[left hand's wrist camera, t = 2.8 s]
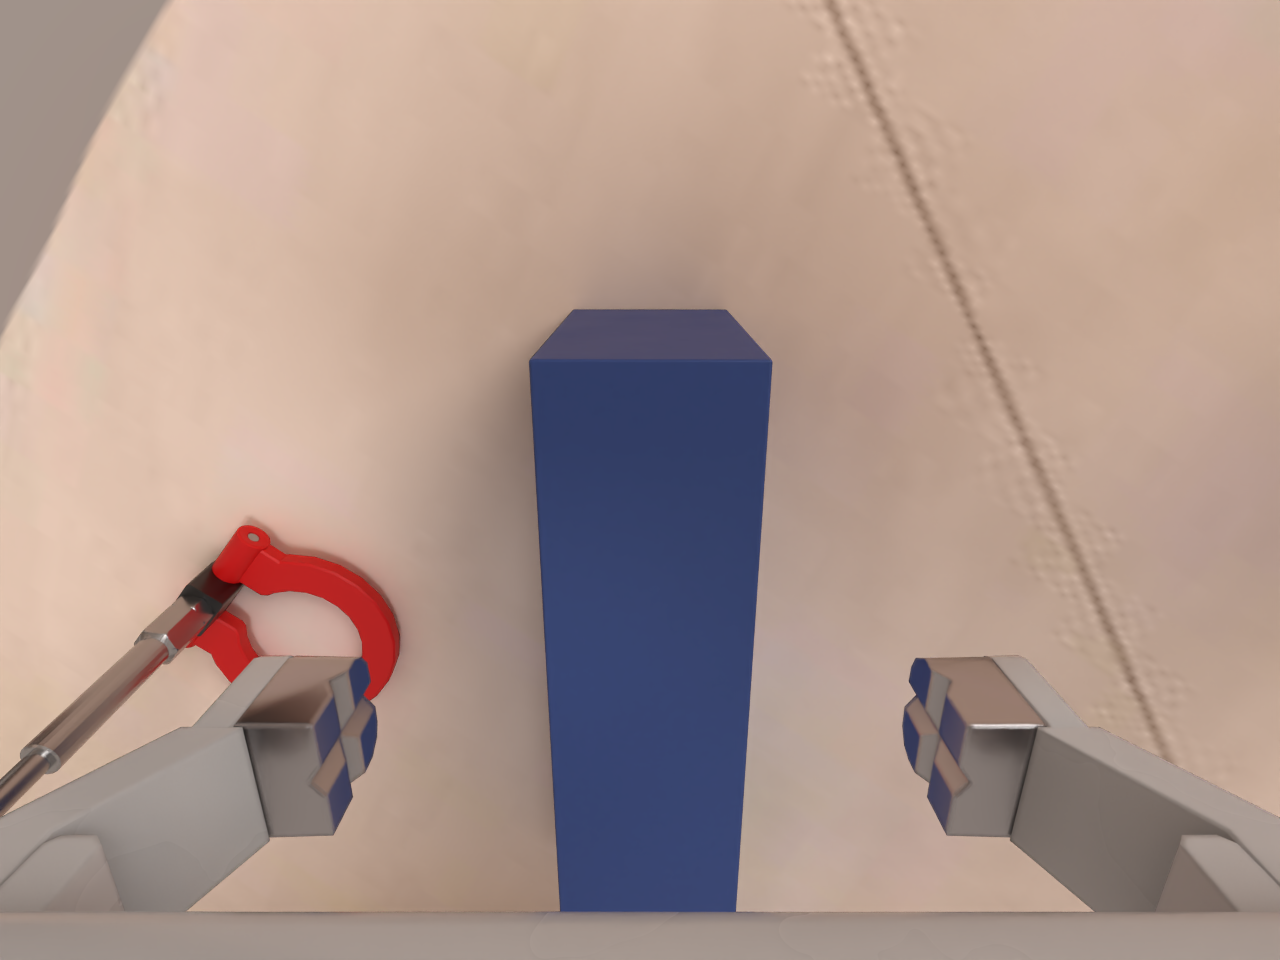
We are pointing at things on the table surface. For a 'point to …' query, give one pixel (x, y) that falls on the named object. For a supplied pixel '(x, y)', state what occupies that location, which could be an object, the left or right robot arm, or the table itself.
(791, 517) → the table surface
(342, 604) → the tow hook
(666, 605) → the box
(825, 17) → the table surface
